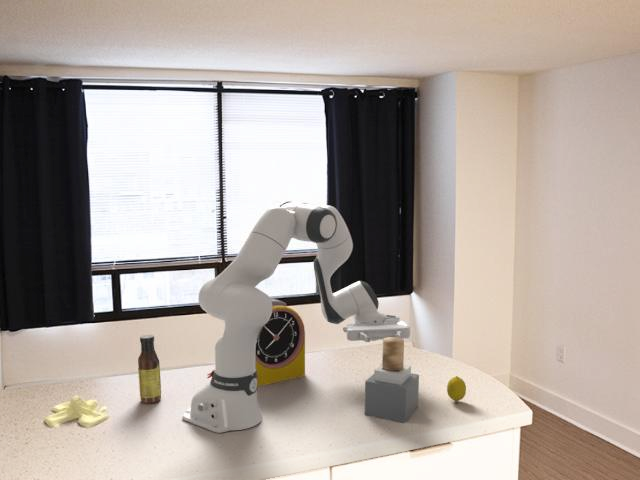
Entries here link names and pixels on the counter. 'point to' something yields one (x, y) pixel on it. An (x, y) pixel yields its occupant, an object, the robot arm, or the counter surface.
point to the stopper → (393, 354)
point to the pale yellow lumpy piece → (77, 413)
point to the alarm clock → (280, 346)
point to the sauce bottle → (149, 371)
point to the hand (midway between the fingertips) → (383, 338)
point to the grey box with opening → (392, 394)
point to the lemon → (456, 388)
